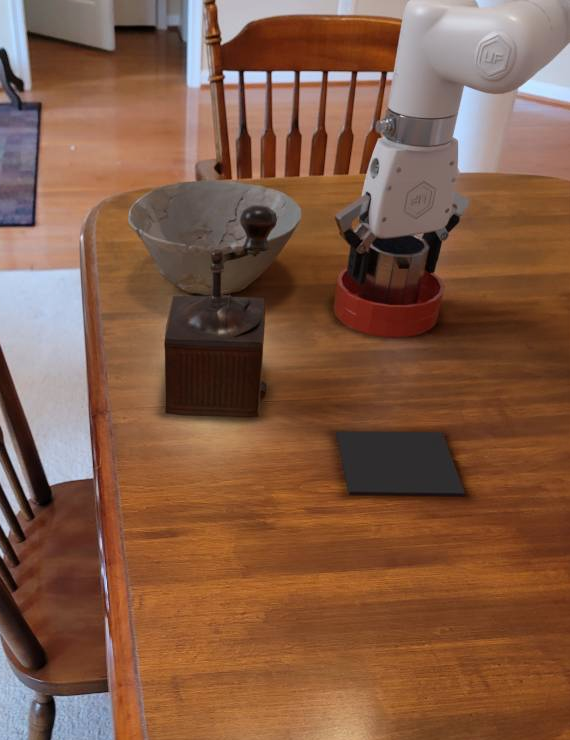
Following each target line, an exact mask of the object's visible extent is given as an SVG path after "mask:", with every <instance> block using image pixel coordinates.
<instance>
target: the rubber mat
mask: <svg viewBox="0 0 570 740" xmlns="http://www.w3.org/2000/svg"><path fill="white" fill-rule="evenodd" d="M335 435H336V440H337V445H338V450H339V455H340V459H341V464H342V469H343V474H344V479H345V485H346V488H347V493H348V495H349V496H396V497H397V496H402V497H404V496H405V497H465V495H466V492H465V488H464V487H463V483H462V481H461V479H460V476H459V473H458V471H457V470H458V469H457V468H456V465H455V462H454V460H453V457H452V454H451V451H450V448H449V446H448V444H447V440H446V437H445V435H444V433H443V432H439V431H438V432H433V431H430V432H429V431H428V432H426V431H425V432H424V431H415V432H414V431H356V430H355V431H348V430H347V431H346V430H345V431H344V430H343V431H342V430H337V431H336V434H335Z"/></svg>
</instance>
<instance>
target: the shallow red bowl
mask: <svg viewBox="0 0 570 740" xmlns="http://www.w3.org/2000/svg"><path fill="white" fill-rule="evenodd" d="M359 287H360V285H359V284H357V283H356V282H355V281H354V280H353V279H352V278H351V277H350V276H349V275H348V271H347V267H345V268H344V269H343V270H341V271H340V272H339V275H338V277H337V280H336V287H335V294H334V302H333V312H334V315H335V317H336V318H337V320H339V322H341V323H342V324H343V325H345V326H347V328H350V329H352V330H353V331H354V330H355V331H357V332H359V333H363V334H366V335H370V336H375V337H381V338H407V337H414V336H417V335H421V334H424V333H426V332H428V331H430V330H431V329H432V328H433V327H434V326H435V325H436V324H437V321H438V317H439V313H440V310H441V305H442V301H443V300H442V299H443V296H444V292H445V287H446V286H445V284H444V282H443V280H442V279H441V278H440V277H439V276H438V275H436V273H435V272H434V273H428V272H427V271H425V270H424V274H423V279H422V283H421V288H420V293H419V297H418V302H417V304H412V305H388V304H381V303H375V302H372V301H368V300H365V299H362V298H360V297H358V293H359Z"/></svg>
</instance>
